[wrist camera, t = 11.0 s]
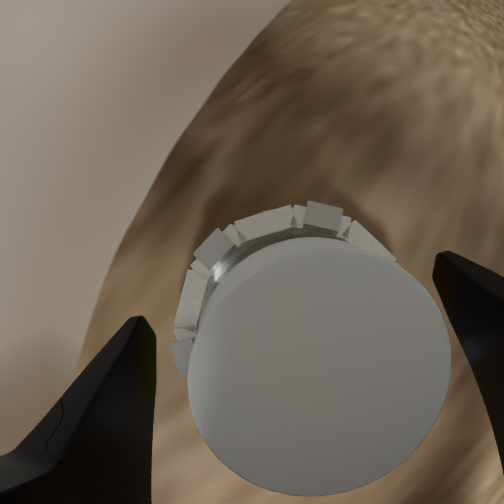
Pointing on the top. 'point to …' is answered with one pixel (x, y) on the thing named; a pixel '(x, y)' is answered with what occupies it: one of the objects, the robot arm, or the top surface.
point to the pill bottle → (317, 367)
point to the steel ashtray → (246, 243)
